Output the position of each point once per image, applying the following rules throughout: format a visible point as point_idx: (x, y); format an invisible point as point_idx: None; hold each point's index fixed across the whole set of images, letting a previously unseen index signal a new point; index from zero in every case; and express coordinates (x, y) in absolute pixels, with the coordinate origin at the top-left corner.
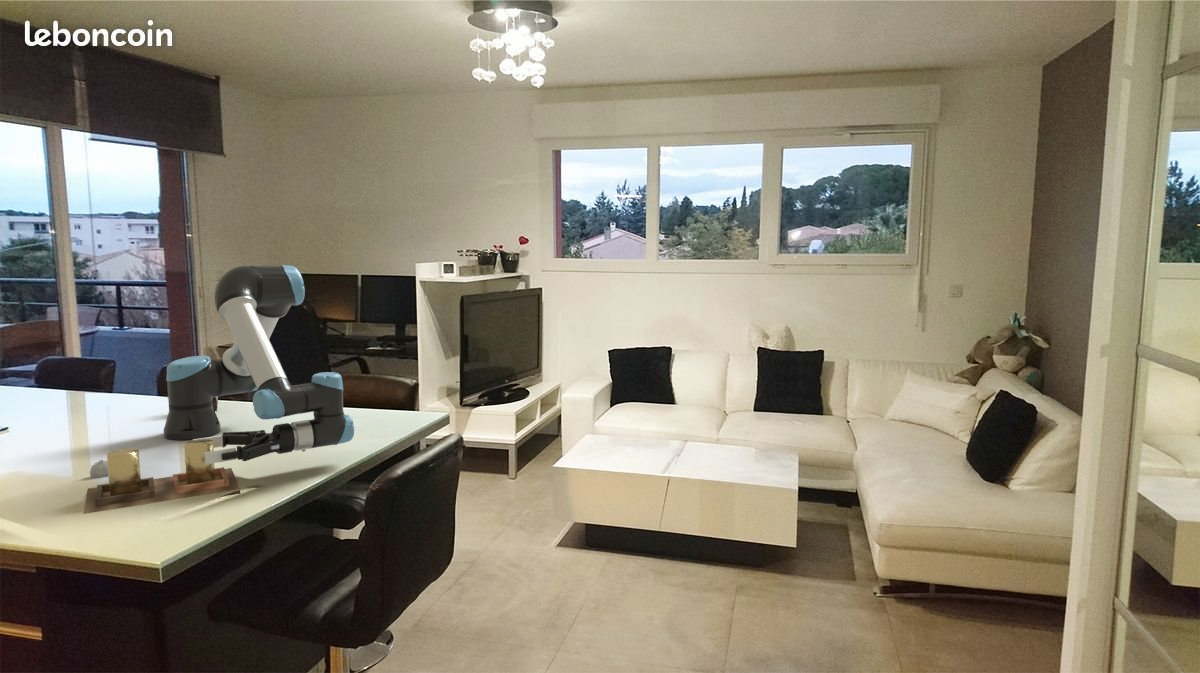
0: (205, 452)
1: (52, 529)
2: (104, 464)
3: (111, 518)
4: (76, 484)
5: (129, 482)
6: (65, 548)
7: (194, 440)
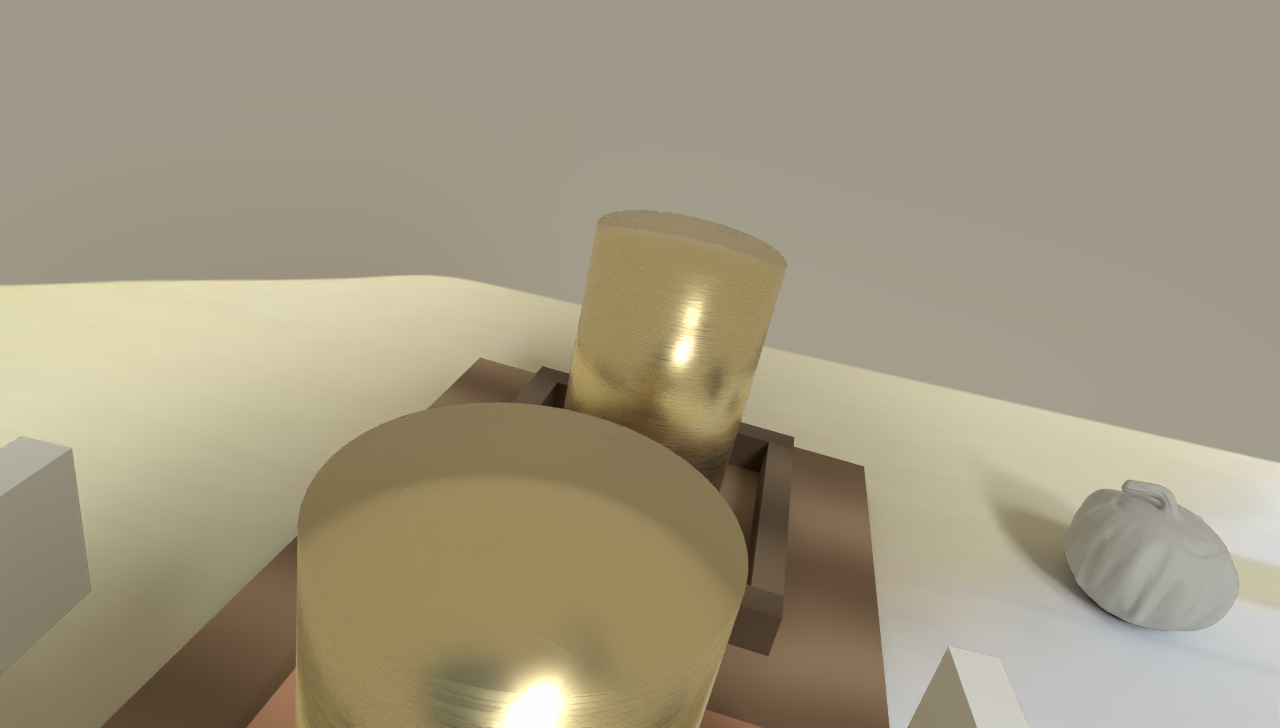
0: (53, 453)
1: (457, 326)
2: (1128, 514)
3: (375, 413)
4: (1041, 512)
5: (564, 407)
6: (210, 283)
7: (733, 541)
